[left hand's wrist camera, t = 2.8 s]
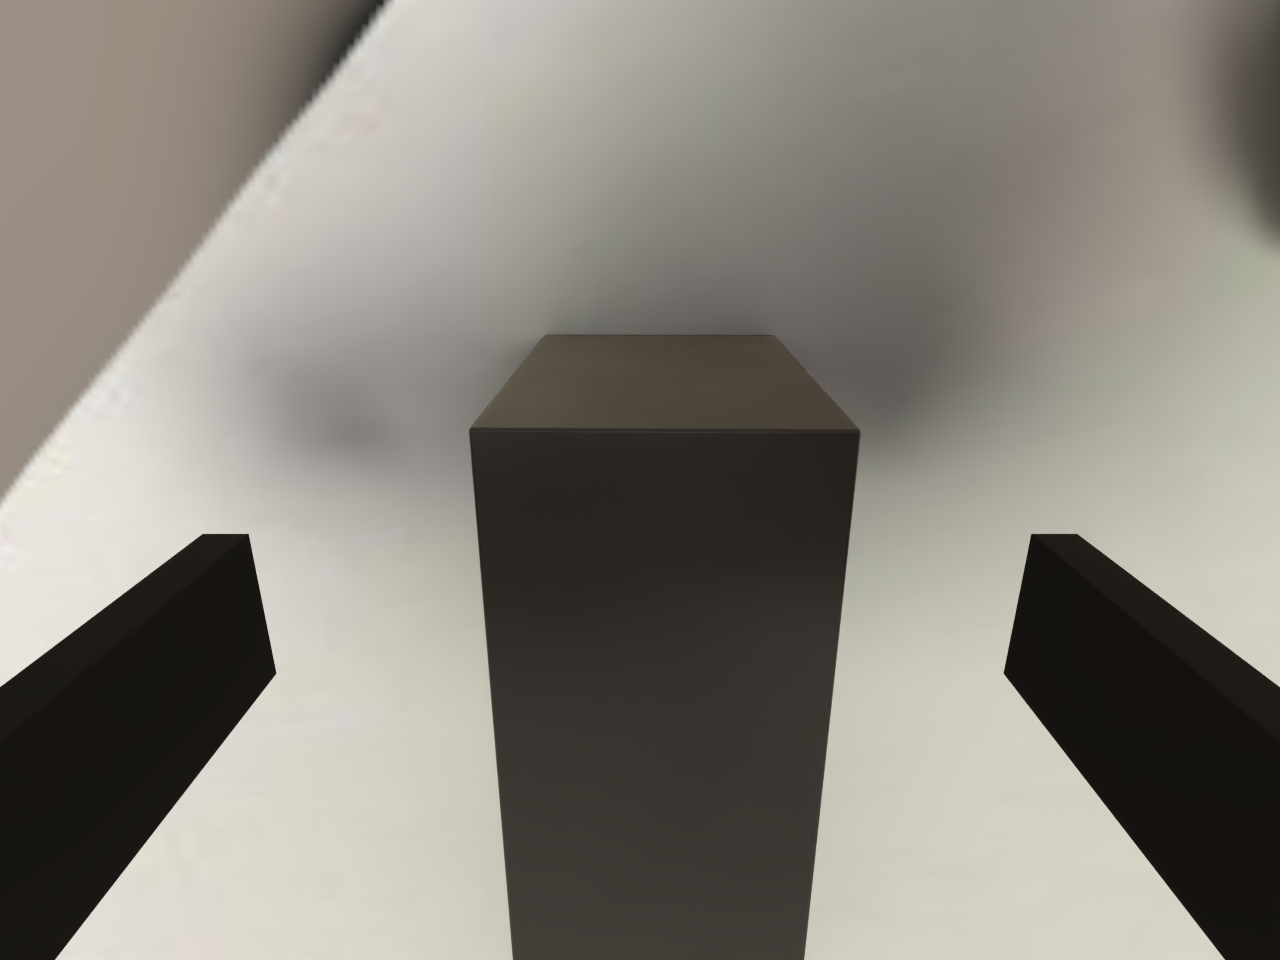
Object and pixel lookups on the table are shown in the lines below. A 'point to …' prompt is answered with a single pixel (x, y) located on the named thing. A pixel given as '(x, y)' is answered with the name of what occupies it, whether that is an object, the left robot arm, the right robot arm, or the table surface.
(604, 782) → the bar
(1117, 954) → the table surface
